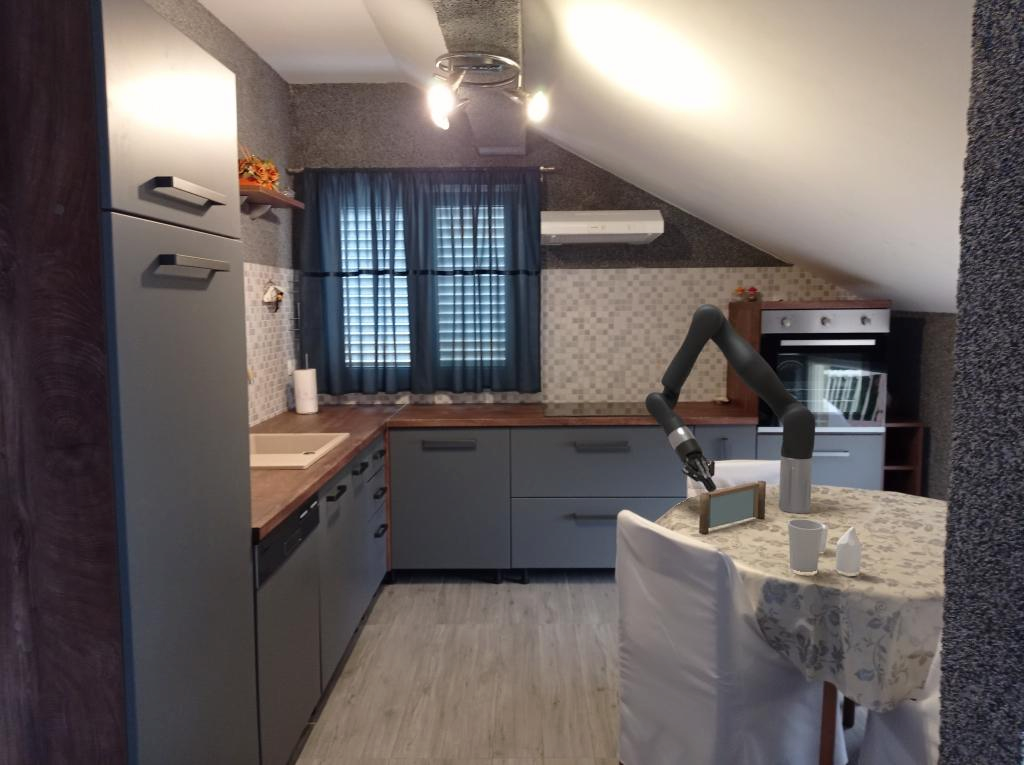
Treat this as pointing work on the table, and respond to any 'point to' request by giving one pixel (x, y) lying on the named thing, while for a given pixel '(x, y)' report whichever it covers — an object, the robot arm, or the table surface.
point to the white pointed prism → (849, 552)
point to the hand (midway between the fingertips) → (712, 490)
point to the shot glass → (823, 538)
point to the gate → (733, 504)
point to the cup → (804, 544)
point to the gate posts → (705, 508)
